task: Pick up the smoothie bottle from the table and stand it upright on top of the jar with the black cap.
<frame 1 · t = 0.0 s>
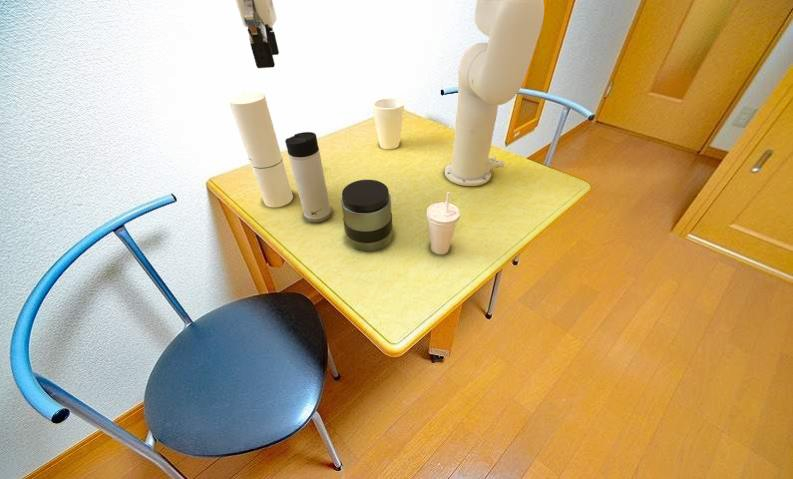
hand: (268, 60, 63), 31 cm above the table, tool pointing down, fingers open, 9 cm apart
smoothie: (439, 248, 68), on the table
jar: (369, 235, 72), on the table
foam cup: (389, 145, 105), on the table
cylindrical container: (278, 199, 83), on the table
travel mug: (318, 215, 78), on the table
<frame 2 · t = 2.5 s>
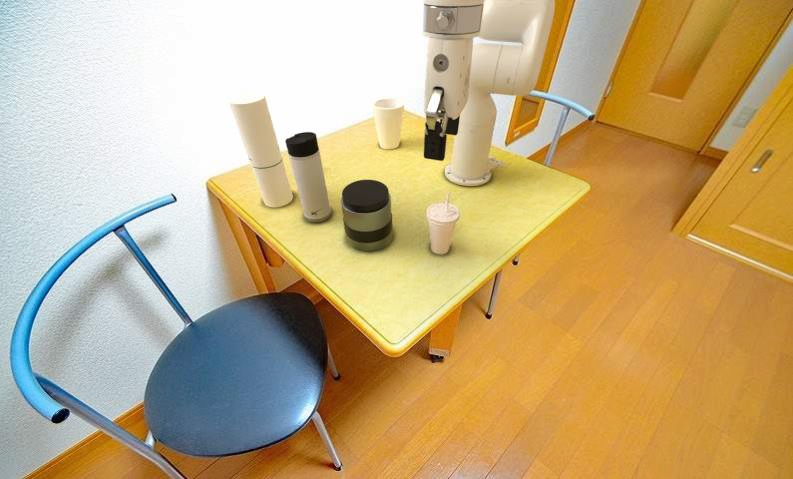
hand: (441, 145, 53), 23 cm above the table, tool pointing down, fingers open, 9 cm apart
nothing on the table moved.
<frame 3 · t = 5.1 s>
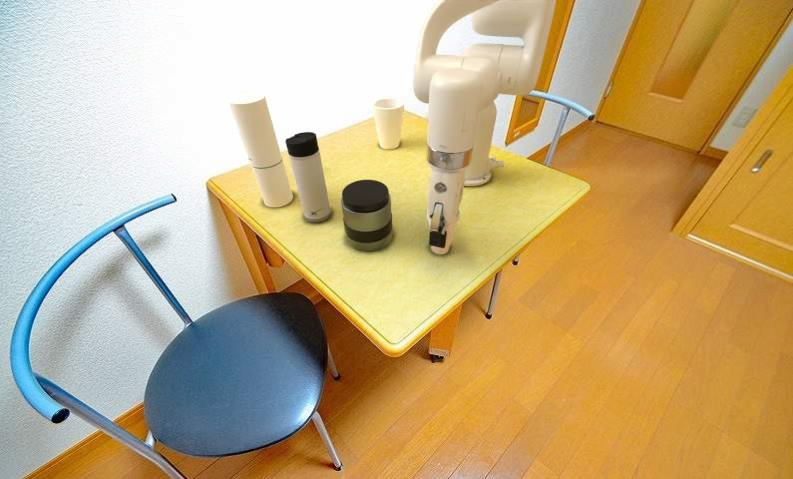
hand: (441, 234, 66), 4 cm above the table, tool pointing down, fingers closed on smoothie, 6 cm apart
smoothie: (439, 248, 68), on the table, touching gripper
everything else where it was.
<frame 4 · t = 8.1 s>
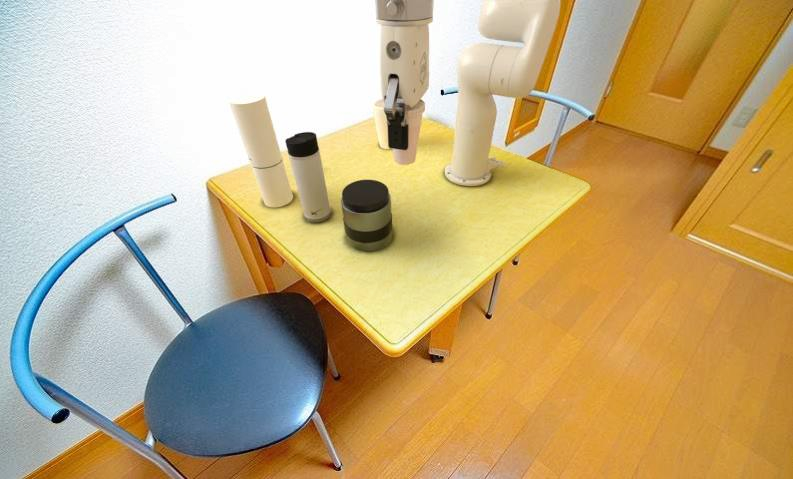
hand: (404, 138, 54), 23 cm above the table, tool pointing down, fingers closed on smoothie, 6 cm apart
smoothie: (404, 160, 57), point 19 cm above the table, touching gripper
everything else where it was.
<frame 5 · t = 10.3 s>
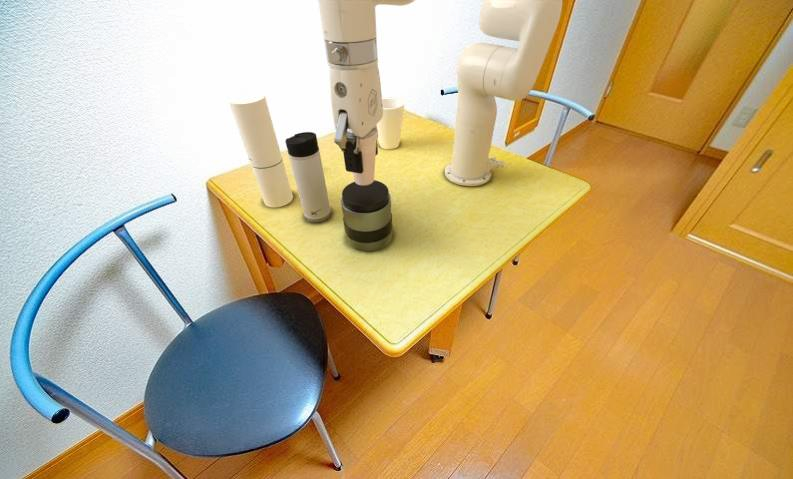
hand: (362, 161, 59), 18 cm above the table, tool pointing down, fingers closed on smoothie, 6 cm apart
smoothie: (364, 181, 62), point 14 cm above the table, touching gripper
everything else where it was.
when the fingers open (16 cm above the table, at t = 11.6 s): smoothie stays where it is, resting on jar.
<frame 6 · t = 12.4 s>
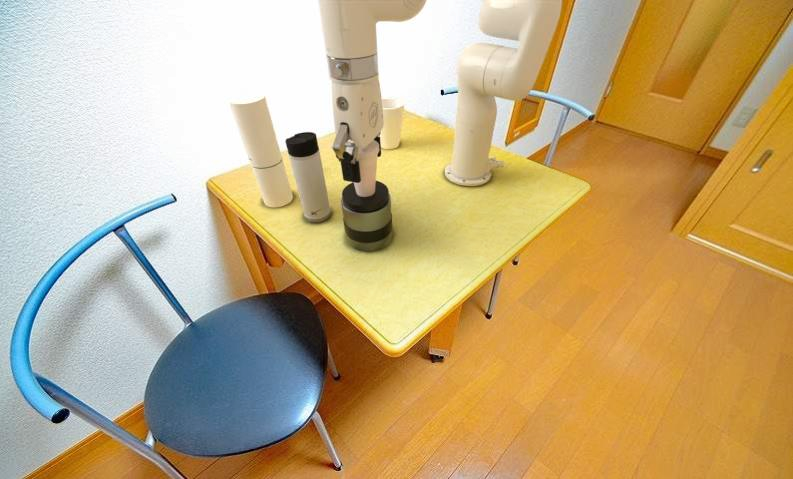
hand: (363, 167, 60), 17 cm above the table, tool pointing down, fingers open, 9 cm apart
smoothie: (365, 192, 64), point 11 cm above the table, touching jar
jar: (369, 235, 72), on the table, touching smoothie
everything else where it was.
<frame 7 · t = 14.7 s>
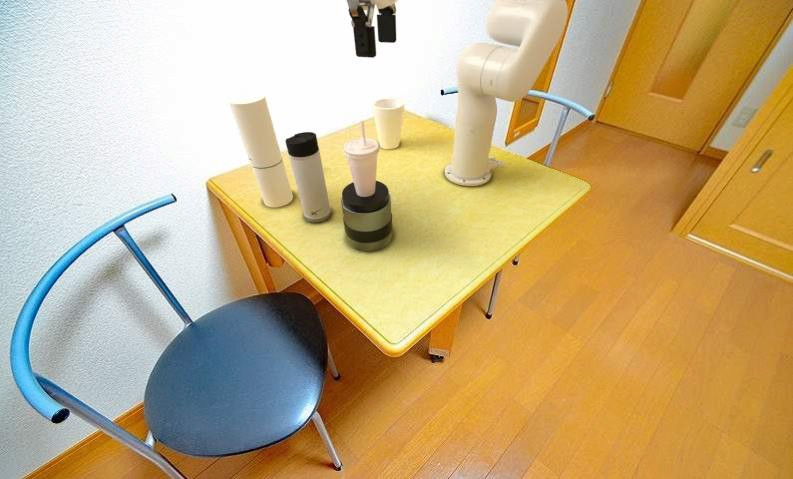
hand: (377, 48, 54), 35 cm above the table, tool pointing down, fingers open, 9 cm apart
nothing on the table moved.
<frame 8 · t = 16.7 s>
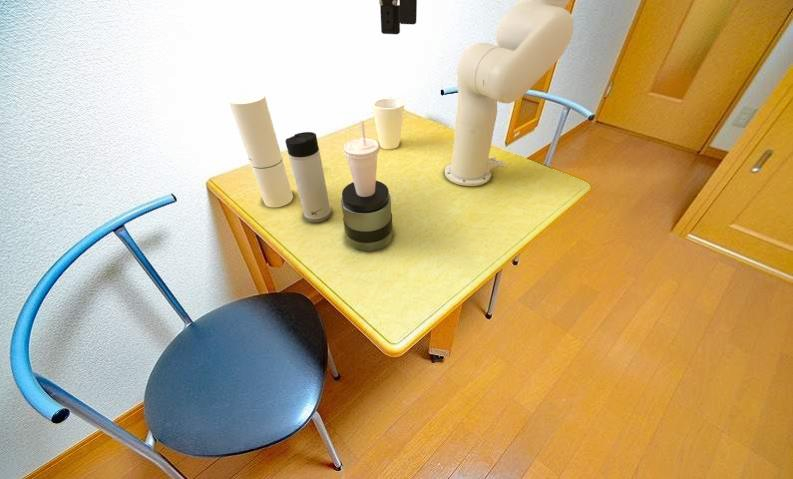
hand: (399, 28, 59), 36 cm above the table, tool pointing down, fingers open, 9 cm apart
nothing on the table moved.
at the end: smoothie 0.1 cm off-centre on the jar, point 11.4 cm above the jar's base; smoothie tilted 0°; the gripper is holding nothing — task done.
